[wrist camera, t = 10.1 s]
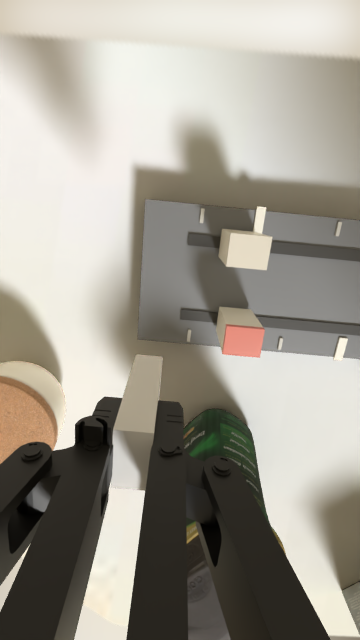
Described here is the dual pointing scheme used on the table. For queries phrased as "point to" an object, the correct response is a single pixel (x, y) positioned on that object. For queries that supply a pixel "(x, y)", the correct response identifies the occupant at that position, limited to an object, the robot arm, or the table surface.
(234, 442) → the coffee jar
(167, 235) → the console
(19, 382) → the lidded jar
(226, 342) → the block
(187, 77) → the table surface
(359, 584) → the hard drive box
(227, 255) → the fader front
